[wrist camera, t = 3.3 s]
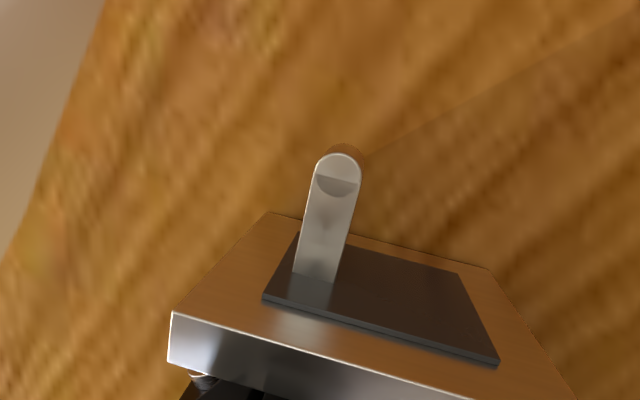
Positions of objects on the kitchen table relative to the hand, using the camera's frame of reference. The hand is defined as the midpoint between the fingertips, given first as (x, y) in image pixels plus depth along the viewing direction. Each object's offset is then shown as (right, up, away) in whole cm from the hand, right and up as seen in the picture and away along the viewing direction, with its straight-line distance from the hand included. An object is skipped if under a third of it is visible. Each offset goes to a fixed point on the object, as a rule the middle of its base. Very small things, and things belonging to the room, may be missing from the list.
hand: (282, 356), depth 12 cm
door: (+4, +5, +2) cm, 7 cm away
